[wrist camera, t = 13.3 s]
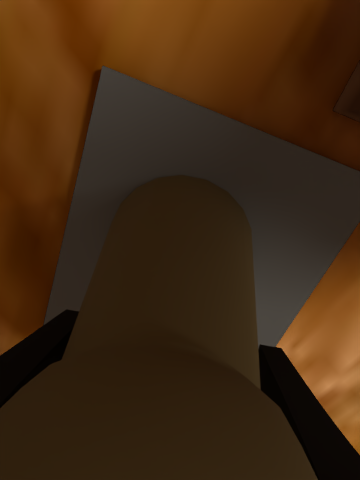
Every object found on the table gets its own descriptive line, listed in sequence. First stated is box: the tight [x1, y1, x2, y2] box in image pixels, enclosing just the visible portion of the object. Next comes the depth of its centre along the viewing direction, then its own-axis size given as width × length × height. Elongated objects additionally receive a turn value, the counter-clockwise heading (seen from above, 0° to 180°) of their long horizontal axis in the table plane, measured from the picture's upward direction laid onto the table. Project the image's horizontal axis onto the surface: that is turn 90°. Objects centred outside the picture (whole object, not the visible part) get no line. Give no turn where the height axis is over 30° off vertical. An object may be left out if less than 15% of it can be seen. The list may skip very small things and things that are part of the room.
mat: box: [44, 66, 360, 348], centre depth 14 cm, size 13×11×1 cm
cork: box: [0, 175, 318, 480], centre depth 8 cm, size 6×6×11 cm
